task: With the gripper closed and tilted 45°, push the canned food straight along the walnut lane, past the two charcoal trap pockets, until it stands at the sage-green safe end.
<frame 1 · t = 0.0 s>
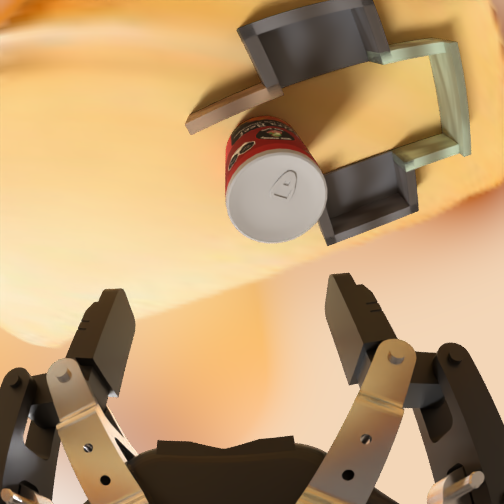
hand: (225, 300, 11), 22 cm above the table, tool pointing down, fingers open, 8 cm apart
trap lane: (332, 123, 29), on the table
canned food: (262, 148, 31), on the table
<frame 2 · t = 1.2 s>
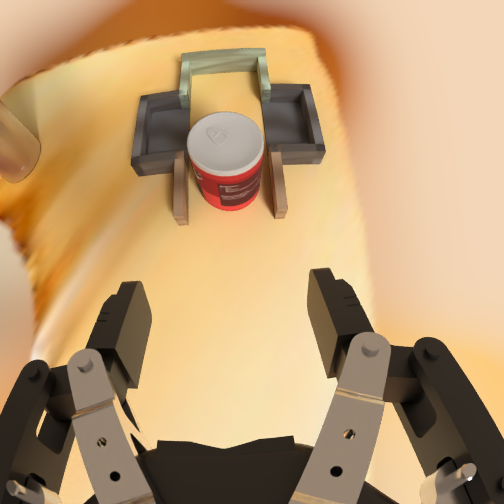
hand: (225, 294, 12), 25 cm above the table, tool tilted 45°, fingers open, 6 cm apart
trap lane: (227, 136, 41), on the table
canned food: (229, 186, 40), on the table
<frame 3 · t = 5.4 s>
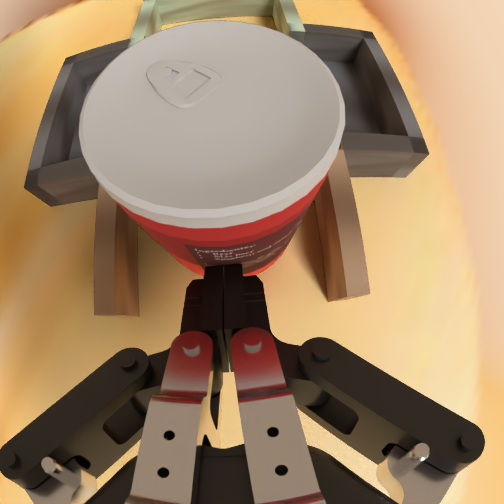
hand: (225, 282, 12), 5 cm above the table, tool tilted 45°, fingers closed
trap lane: (220, 118, 20), on the table
canned food: (226, 218, 18), on the table, touching gripper
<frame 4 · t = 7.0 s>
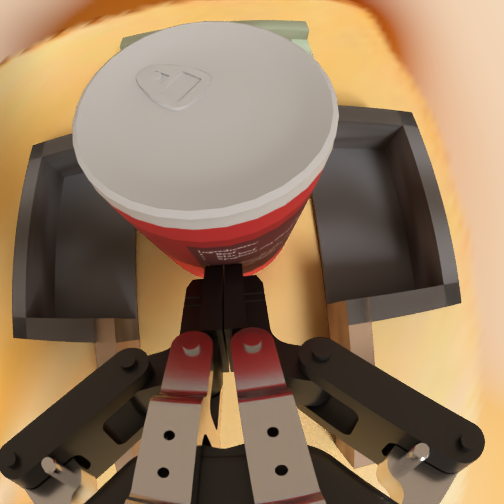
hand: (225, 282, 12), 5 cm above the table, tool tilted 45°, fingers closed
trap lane: (225, 244, 18), on the table
canned food: (222, 219, 18), on the table, touching gripper
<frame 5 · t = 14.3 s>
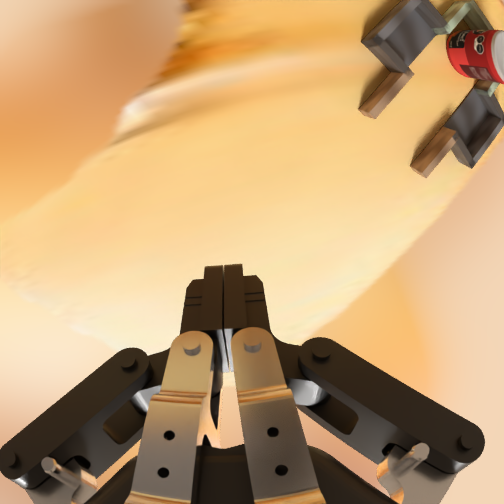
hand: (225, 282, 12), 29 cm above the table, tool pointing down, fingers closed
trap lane: (437, 84, 33), on the table
canned food: (461, 53, 30), on the table
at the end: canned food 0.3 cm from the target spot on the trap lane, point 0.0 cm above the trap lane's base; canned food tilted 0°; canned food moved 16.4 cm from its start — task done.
